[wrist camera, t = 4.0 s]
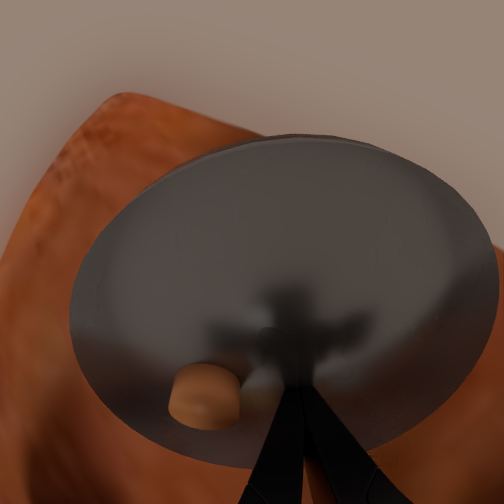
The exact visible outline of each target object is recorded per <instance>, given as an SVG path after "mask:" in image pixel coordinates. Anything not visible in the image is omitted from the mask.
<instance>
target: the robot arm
mask: <svg viewBox="0 0 504 504" xmlns="http://www.w3.org/2000/svg"><path fill="white" fill-rule="evenodd" d="M304 464H305V468H306V473H307V477H308V482H309V486H310V490H311V495H312V499H313V504H413V503H412V502H411V501H410V500H409V499H408V498H407V497H406V496H405V495H404V494H402V493H401V492H400V491H399V490H398V489H397V488H396V487H395V486H394V484H393V483H392V482H391V481H390V480H389V479H388V478H387V477H386V475H385V474H384V473H383V472H382V471H381V469H380V468H378V466H377V465H376V463H375V462H374V461H373V460H372V459H371V457H370V456H369V455H368V454H367V452H366V451H365V450H364V449H363V448H362V446H361V445H360V444H359V443H358V441H357V440H356V439H355V438H354V436H353V435H352V434H351V433H350V431H349V430H348V429H347V428H346V426H345V425H344V424H343V423H342V421H341V420H340V419H339V417H338V416H337V415H336V414H335V412H334V411H333V410H332V409H331V407H330V406H329V405H328V403H327V402H326V401H325V400H324V398H323V397H322V396H321V394H320V393H319V392H318V391H317V389H316V388H315V387H314V386H312V385H310V386H301V387H300V388H298V387H289V388H285V389H284V391H283V393H282V396H281V399H280V402H279V404H278V407H277V410H276V413H275V415H274V418H273V421H272V423H271V426H270V429H269V431H268V434H267V436H266V439H265V442H264V444H263V447H262V449H261V452H260V454H259V457H258V459H257V461H256V464H255V466H254V469H253V471H252V473H251V476H250V478H249V481H248V485H246V487H245V489H244V492H243V494H242V496H241V498H240V500H239V502H238V504H301V499H302V484H303V465H304ZM377 468H378V469H377Z"/></svg>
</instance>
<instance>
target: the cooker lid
mask: <svg viewBox="0 0 504 504" xmlns="http://www.w3.org/2000/svg"><path fill="white" fill-rule="evenodd" d="M498 300H499V272H498V266H497V260H496V254H495V251H494V248H493V246H492V243H491V240H490V238H489V235H488V233H487V231H486V229H485V227H484V225H483V224H482V222H481V221H480V219H479V217H478V216H477V214H476V213H475V211H474V209H473V208H472V207H471V206H470V205H469V204H468V203H467V202H466V201H465V200H464V199H463V198H462V196H460V194H459V193H458V192H457V191H456V190H455V189H454V188H452V187H451V186H450V185H448V184H447V183H445V182H444V181H443V180H441V179H440V178H438V177H437V176H436V175H434V174H433V173H431V172H430V171H428V170H427V169H425V168H423V167H421V166H419V165H417V164H415V163H413V162H411V161H409V160H407V159H405V158H403V157H400V156H398V155H396V154H393V153H391V152H389V151H386V150H384V149H381V148H379V147H376V146H374V145H371V144H368V143H364V142H360V141H355V140H351V139H346V138H341V137H336V136H329V135H311V134H286V135H277V136H268V137H260V138H253V139H248V140H244V141H241V142H237V143H234V144H230V145H227V146H223V147H220V148H217V149H213V150H210V151H208V152H206V153H204V154H202V155H199V156H197V157H195V158H193V159H191V160H189V161H187V162H185V163H183V164H181V165H178V166H176V167H175V168H173V169H172V170H170V171H169V172H167V173H166V174H164V175H163V176H162V177H160V178H159V179H157V180H156V181H154V182H153V183H152V184H150V185H149V186H147V187H146V188H145V189H144V190H143V191H142V192H140V193H139V194H138V195H137V196H136V197H135V198H134V199H133V200H132V201H131V202H130V203H129V204H128V205H127V206H126V207H125V208H124V209H123V210H122V211H121V212H120V213H119V214H118V215H117V216H116V217H115V218H114V219H113V220H112V221H111V222H110V223H109V224H108V225H107V226H106V227H105V228H104V230H103V231H102V232H101V233H100V234H99V236H98V237H97V239H96V240H95V242H94V244H93V245H92V247H91V248H90V250H89V251H88V253H87V254H86V256H85V258H84V260H83V262H82V265H81V267H80V269H79V272H78V275H77V277H76V280H75V282H74V286H73V291H72V297H71V302H70V333H71V339H72V344H73V348H74V352H75V355H76V358H77V360H78V363H79V365H80V368H81V370H82V372H83V374H84V376H85V377H86V379H87V381H88V383H89V384H90V386H91V387H92V389H93V390H94V392H95V393H96V394H97V395H98V397H99V398H100V399H101V401H102V402H103V403H104V404H105V405H106V406H107V407H108V408H109V409H110V410H111V411H112V412H113V413H114V414H115V415H116V416H117V417H118V418H119V419H121V420H122V421H123V422H124V423H126V424H127V425H128V426H129V427H131V428H132V429H134V430H135V431H137V432H138V433H140V434H141V435H143V436H144V437H146V438H148V439H149V440H151V441H153V442H155V443H157V444H159V445H161V446H163V447H165V448H167V449H169V450H172V451H174V452H177V453H179V454H182V455H185V456H188V457H191V458H194V459H197V460H201V461H204V462H209V463H213V464H217V465H223V466H229V467H236V468H246V469H254V466H255V464H256V461H257V459H258V457H259V454H260V452H261V449H262V447H263V444H264V442H265V439H266V436H267V434H268V431H269V429H270V426H271V423H272V421H273V418H274V415H275V413H276V410H277V407H278V404H279V402H280V399H281V396H282V393H283V391H284V389H285V388H289V387H298V388H300V387H301V386H310V385H312V386H314V387H315V388H316V389H317V391H318V392H319V393H320V394H321V396H322V397H323V398H324V400H325V401H326V402H327V403H328V405H329V406H330V407H331V409H332V410H333V411H334V412H335V414H336V415H337V416H338V417H339V419H340V420H341V421H342V423H343V424H344V425H345V426H346V428H347V429H348V430H349V431H350V433H351V434H352V435H353V436H354V438H355V439H356V440H357V441H358V443H359V444H360V445H361V446H362V448H363V449H364V450H365V451H368V450H371V449H373V448H375V447H378V446H380V445H382V444H384V443H386V442H388V441H390V440H392V439H394V438H396V437H398V436H399V435H401V434H403V433H405V432H406V431H408V430H409V429H411V428H412V427H414V426H416V425H417V424H419V423H420V422H421V421H423V420H424V419H425V418H427V417H428V416H429V415H430V414H432V413H433V412H434V411H435V410H436V409H438V408H439V407H440V406H441V405H442V404H443V403H444V402H445V401H446V400H447V399H448V398H449V397H450V396H451V395H452V394H453V393H454V392H455V391H456V390H457V389H458V388H459V386H460V385H461V384H462V383H463V381H464V380H465V379H466V377H467V376H468V375H469V373H470V372H471V371H472V369H473V368H474V366H475V364H476V363H477V361H478V359H479V358H480V356H481V354H482V352H483V350H484V348H485V346H486V344H487V341H488V339H489V337H490V334H491V331H492V328H493V325H494V321H495V318H496V313H497V307H498ZM303 467H305V464H304V465H303Z"/></svg>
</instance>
